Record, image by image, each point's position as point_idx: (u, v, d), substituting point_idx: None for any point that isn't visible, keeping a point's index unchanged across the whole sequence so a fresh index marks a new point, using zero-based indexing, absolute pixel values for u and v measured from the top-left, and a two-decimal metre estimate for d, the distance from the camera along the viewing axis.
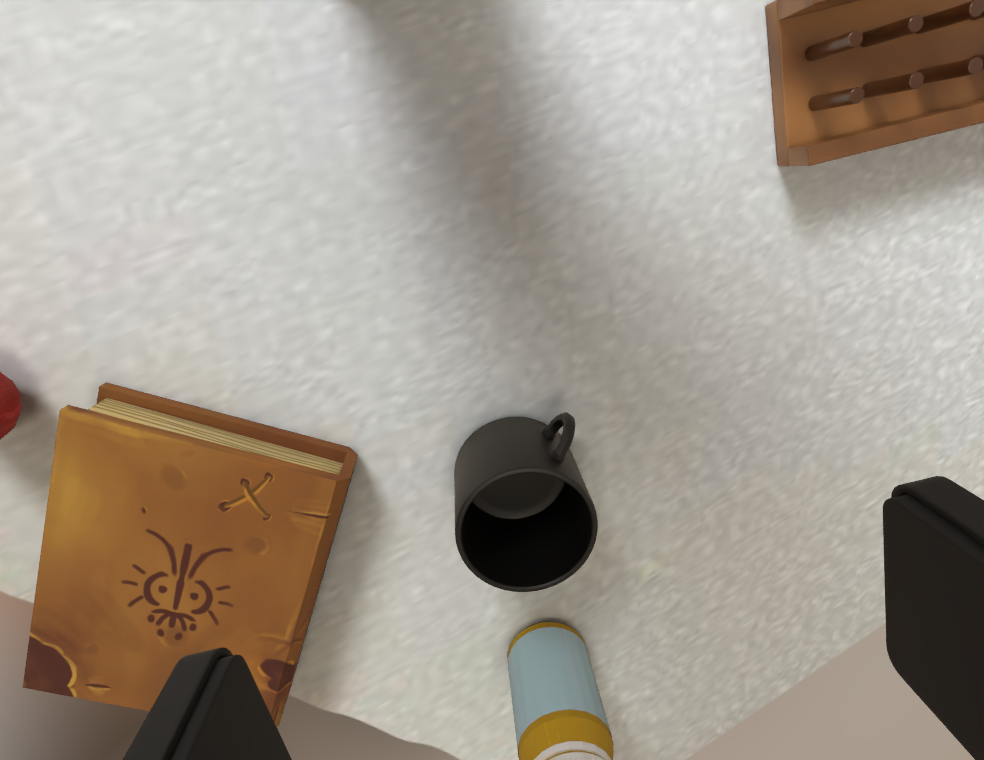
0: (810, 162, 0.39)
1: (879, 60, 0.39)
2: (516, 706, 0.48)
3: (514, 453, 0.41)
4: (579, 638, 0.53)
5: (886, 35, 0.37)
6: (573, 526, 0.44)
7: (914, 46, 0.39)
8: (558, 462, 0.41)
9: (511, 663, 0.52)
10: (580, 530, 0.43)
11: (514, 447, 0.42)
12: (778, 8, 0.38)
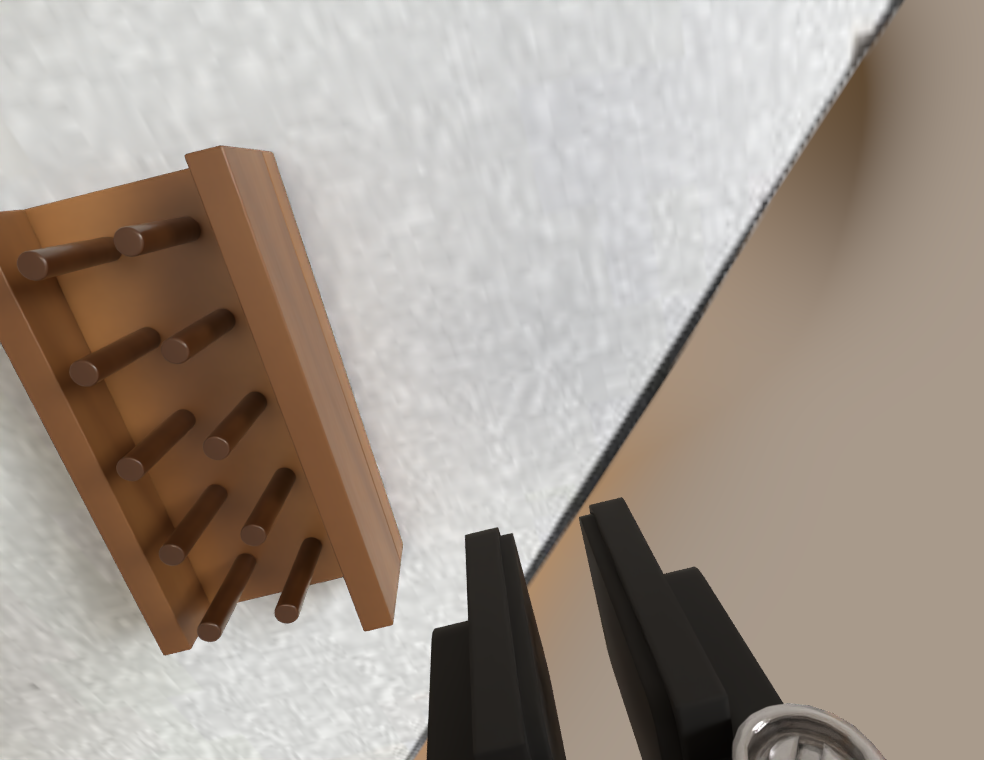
0: None
1: None
2: None
3: None
4: None
5: (189, 325, 0.21)
6: None
7: (226, 400, 0.25)
8: None
9: None
10: None
11: None
12: None
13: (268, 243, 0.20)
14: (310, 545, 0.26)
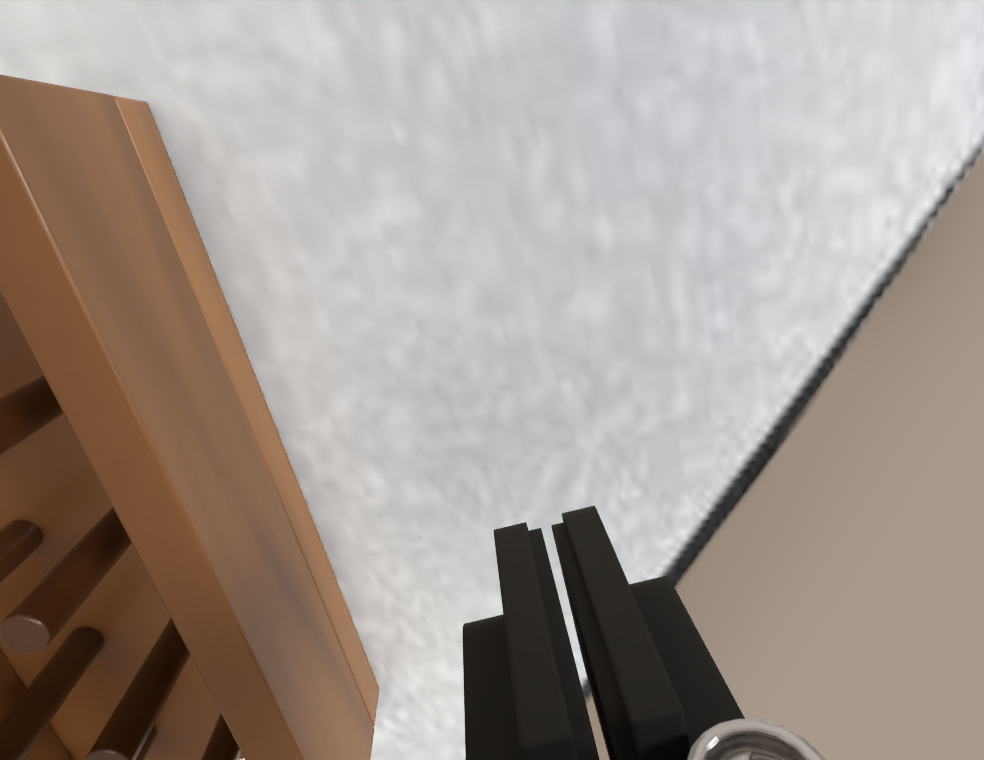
0: None
1: None
2: None
3: None
4: None
5: None
6: None
7: (90, 505, 0.16)
8: None
9: None
10: None
11: None
12: None
13: (105, 265, 0.11)
14: None
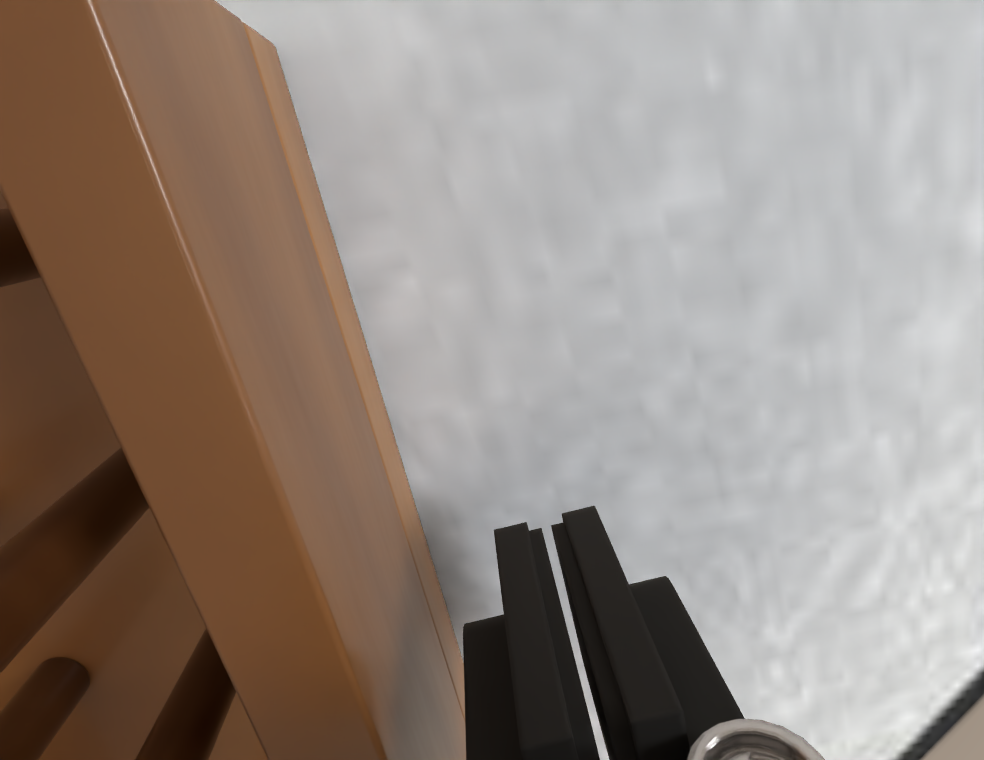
0: None
1: None
2: None
3: None
4: None
5: (18, 533, 0.07)
6: None
7: (160, 637, 0.11)
8: None
9: None
10: None
11: None
12: None
13: (256, 297, 0.06)
14: None
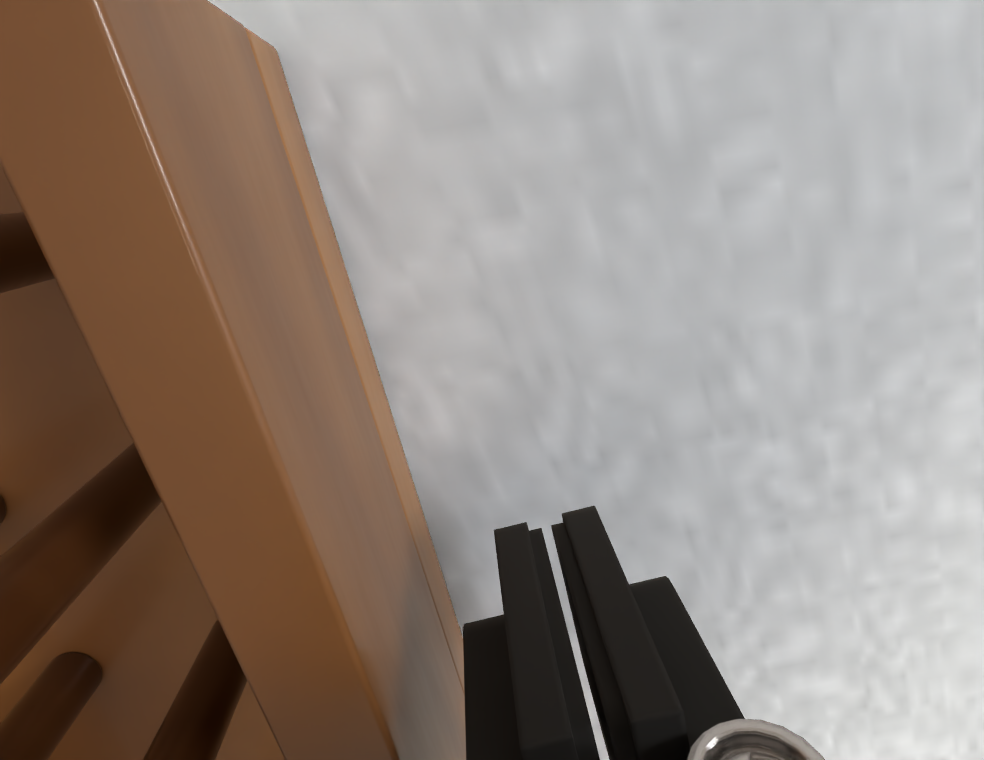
0: None
1: None
2: None
3: None
4: None
5: (31, 529, 0.07)
6: None
7: (171, 631, 0.11)
8: None
9: None
10: None
11: None
12: None
13: (261, 297, 0.06)
14: None
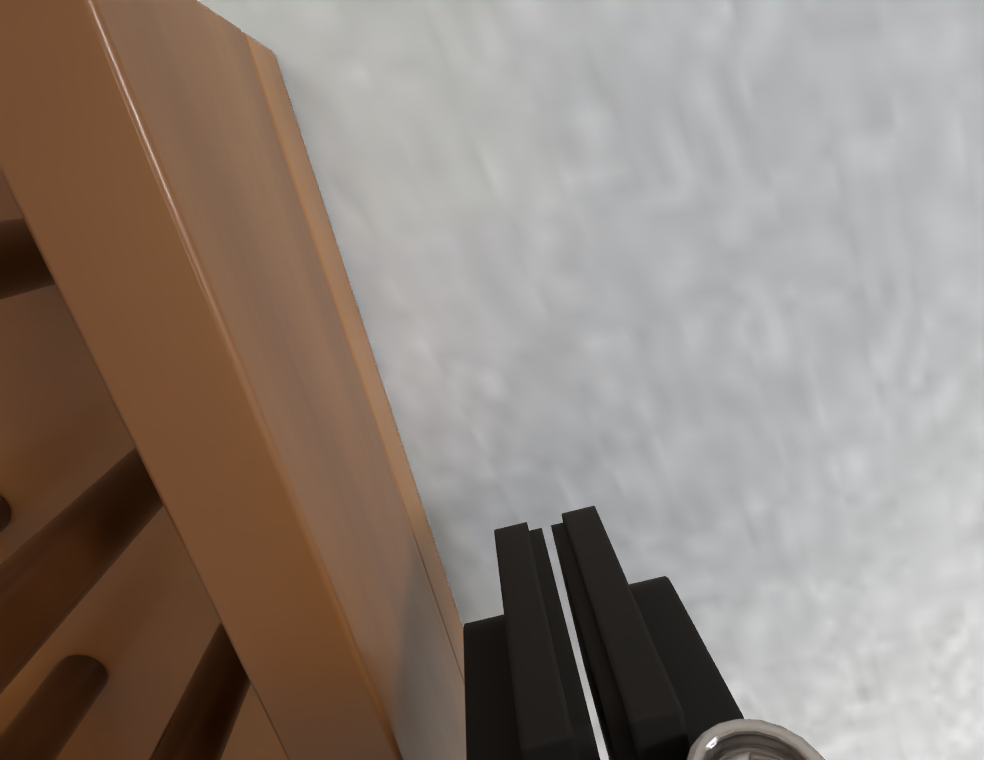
0: None
1: None
2: None
3: None
4: None
5: (36, 533, 0.07)
6: None
7: (175, 633, 0.11)
8: None
9: None
10: None
11: None
12: None
13: (262, 301, 0.06)
14: None
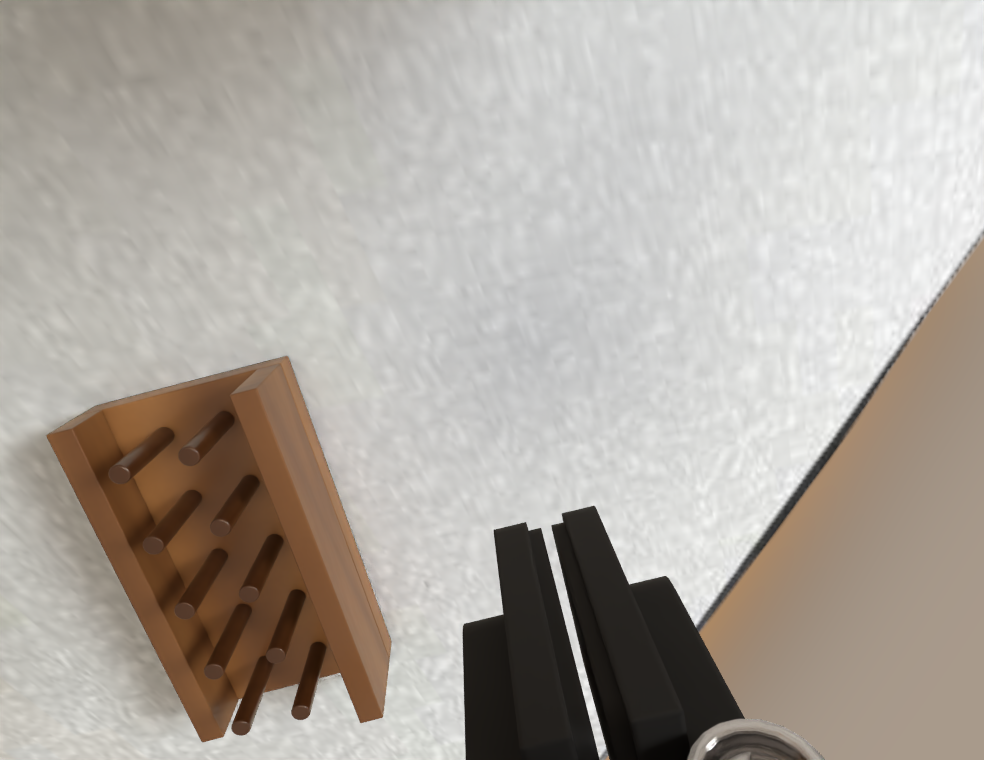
0: (50, 436, 0.27)
1: None
2: None
3: None
4: None
5: (227, 499, 0.28)
6: None
7: (251, 540, 0.32)
8: None
9: None
10: None
11: None
12: (269, 366, 0.29)
13: (287, 444, 0.27)
14: (317, 649, 0.33)
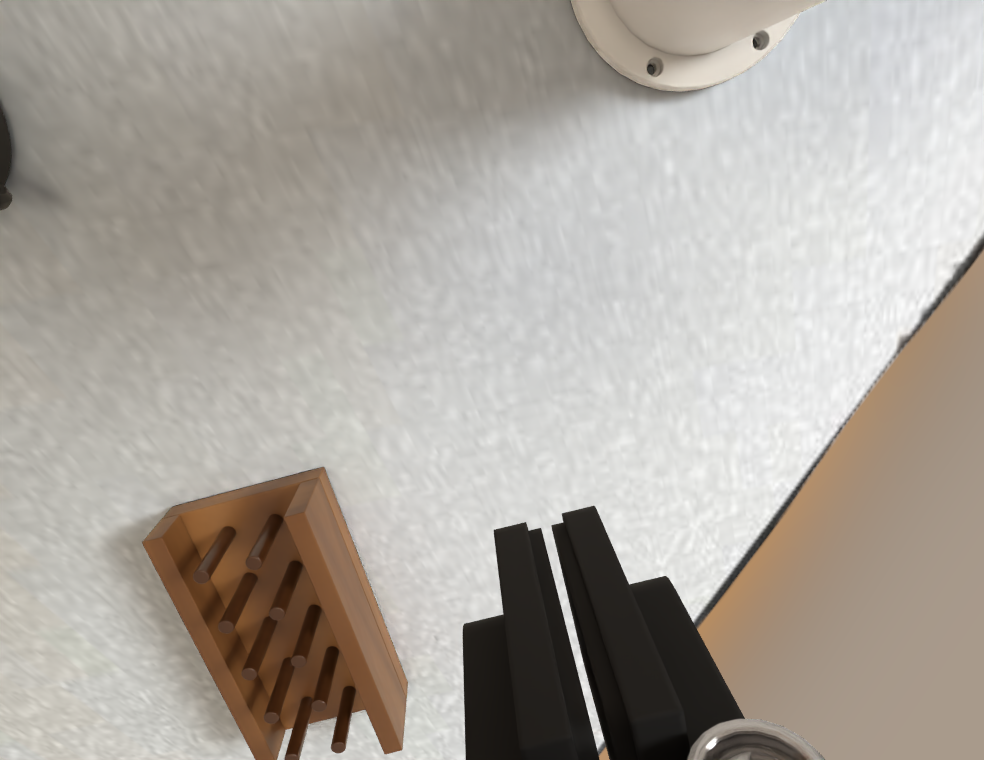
0: (145, 543, 0.35)
1: (279, 582, 0.39)
2: None
3: None
4: None
5: (280, 587, 0.36)
6: None
7: (296, 609, 0.40)
8: None
9: None
10: None
11: None
12: (310, 480, 0.37)
13: (327, 547, 0.35)
14: (348, 693, 0.42)
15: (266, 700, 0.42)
